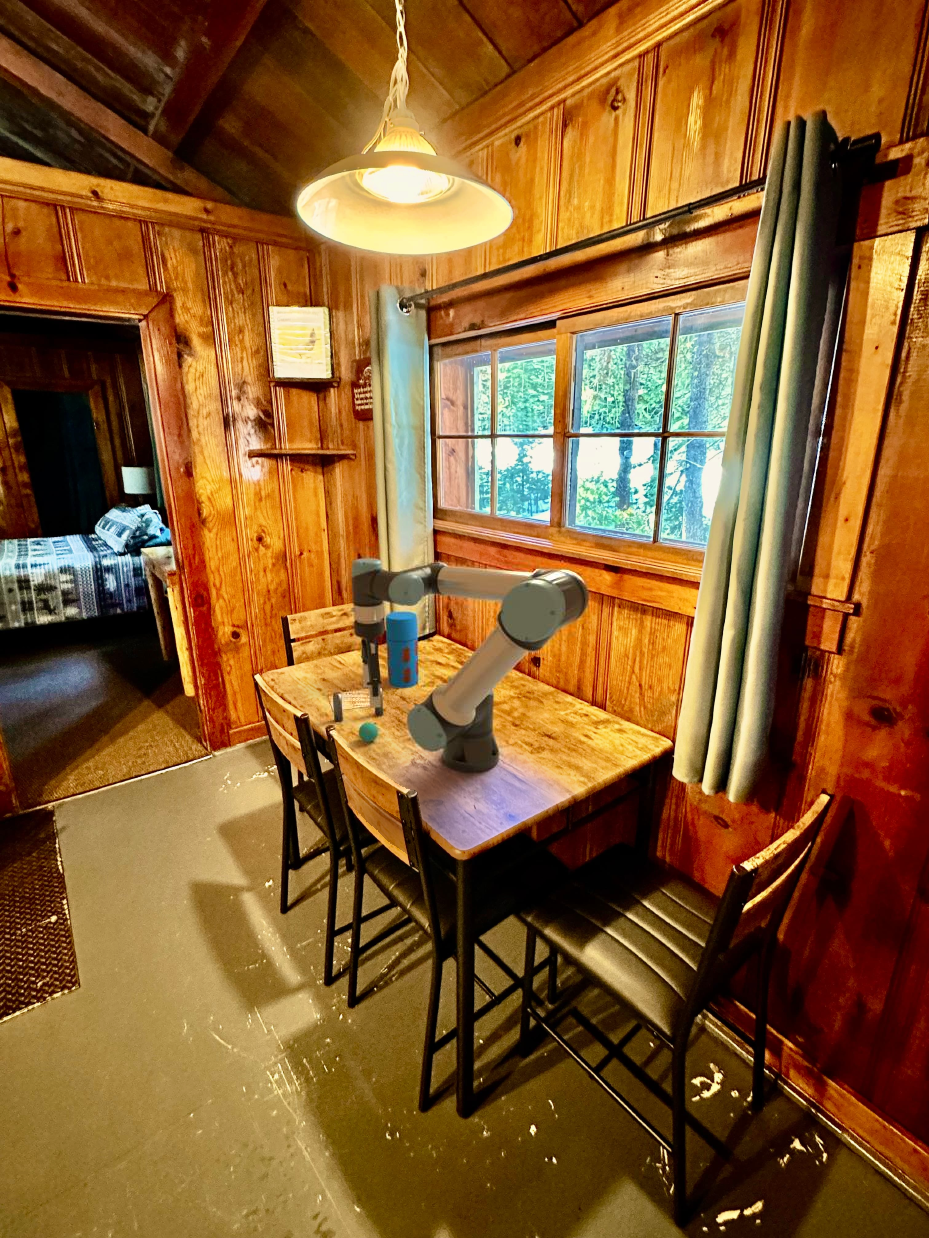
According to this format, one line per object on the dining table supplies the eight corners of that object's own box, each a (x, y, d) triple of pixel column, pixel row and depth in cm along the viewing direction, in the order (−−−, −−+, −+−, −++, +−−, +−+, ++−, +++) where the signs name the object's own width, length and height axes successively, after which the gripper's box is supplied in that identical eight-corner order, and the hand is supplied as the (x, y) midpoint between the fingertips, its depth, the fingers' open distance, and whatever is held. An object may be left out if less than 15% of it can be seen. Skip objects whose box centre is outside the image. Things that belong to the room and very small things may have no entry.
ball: (380, 743, 162) (379, 725, 161) (361, 746, 160) (360, 729, 159) (376, 734, 167) (375, 717, 166) (357, 738, 165) (356, 720, 164)
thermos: (422, 678, 209) (421, 612, 202) (412, 689, 199) (410, 620, 192) (395, 675, 212) (392, 610, 205) (383, 686, 202) (380, 618, 195)
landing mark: (376, 705, 187) (376, 704, 187) (333, 711, 182) (333, 711, 182) (368, 689, 199) (368, 688, 199) (327, 695, 195) (327, 694, 195)
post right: (384, 715, 179) (382, 688, 177) (375, 716, 179) (374, 690, 176) (382, 712, 182) (381, 685, 179) (374, 713, 181) (372, 687, 178)
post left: (343, 721, 175) (341, 694, 173) (334, 723, 174) (333, 695, 172) (342, 718, 178) (340, 691, 175) (333, 719, 177) (331, 692, 174)
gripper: (349, 607, 156) (352, 680, 162) (359, 635, 133) (363, 718, 139) (376, 606, 158) (379, 677, 164) (391, 632, 135) (393, 714, 141)
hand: (371, 696), depth 152 cm, fingers open, 13 cm apart
